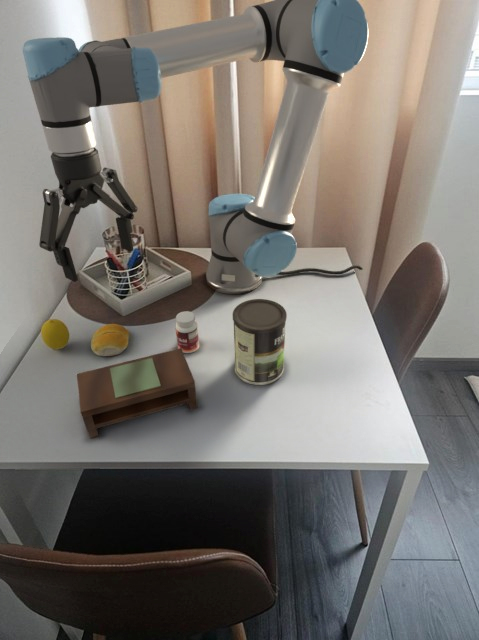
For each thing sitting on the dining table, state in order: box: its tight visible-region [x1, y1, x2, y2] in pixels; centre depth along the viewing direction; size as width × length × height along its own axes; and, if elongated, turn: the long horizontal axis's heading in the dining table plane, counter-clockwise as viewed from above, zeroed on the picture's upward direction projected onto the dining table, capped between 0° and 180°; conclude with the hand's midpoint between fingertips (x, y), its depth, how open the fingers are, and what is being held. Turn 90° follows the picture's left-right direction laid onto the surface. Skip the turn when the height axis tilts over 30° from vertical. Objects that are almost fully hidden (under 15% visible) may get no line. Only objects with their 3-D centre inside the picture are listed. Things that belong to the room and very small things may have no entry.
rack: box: [76, 348, 198, 439], centre depth 83 cm, size 20×10×7 cm, turn 110°
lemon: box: [40, 318, 70, 350], centre depth 97 cm, size 6×6×8 cm
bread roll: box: [90, 323, 130, 357], centre depth 99 cm, size 8×9×4 cm
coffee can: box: [232, 298, 287, 386], centre depth 89 cm, size 10×10×14 cm
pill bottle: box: [174, 310, 200, 354], centre depth 96 cm, size 5×5×8 cm
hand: (101, 263), depth 85 cm, fingers open, 13 cm apart
